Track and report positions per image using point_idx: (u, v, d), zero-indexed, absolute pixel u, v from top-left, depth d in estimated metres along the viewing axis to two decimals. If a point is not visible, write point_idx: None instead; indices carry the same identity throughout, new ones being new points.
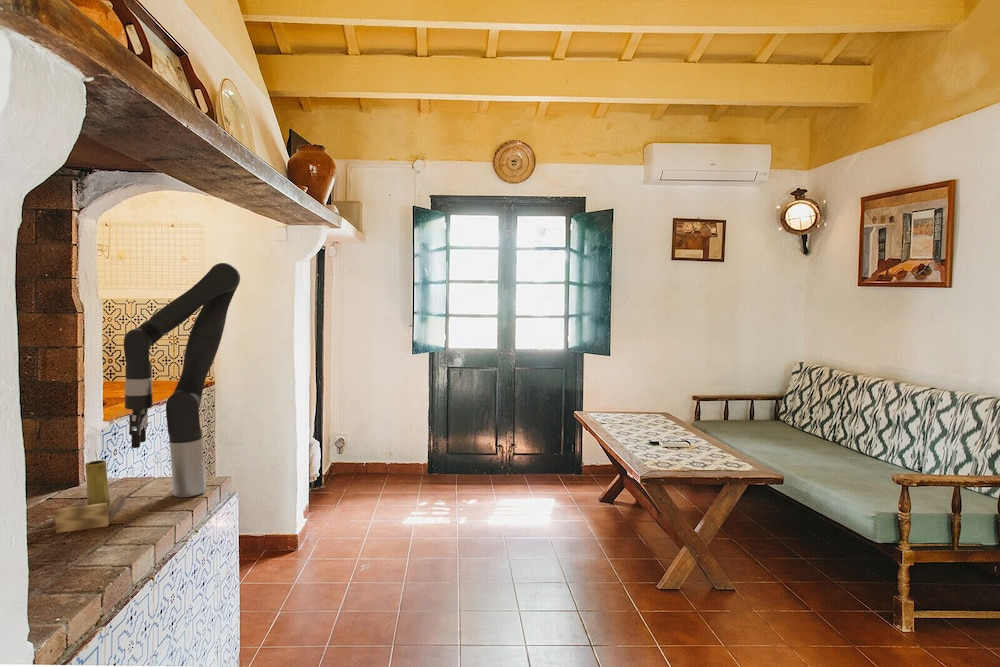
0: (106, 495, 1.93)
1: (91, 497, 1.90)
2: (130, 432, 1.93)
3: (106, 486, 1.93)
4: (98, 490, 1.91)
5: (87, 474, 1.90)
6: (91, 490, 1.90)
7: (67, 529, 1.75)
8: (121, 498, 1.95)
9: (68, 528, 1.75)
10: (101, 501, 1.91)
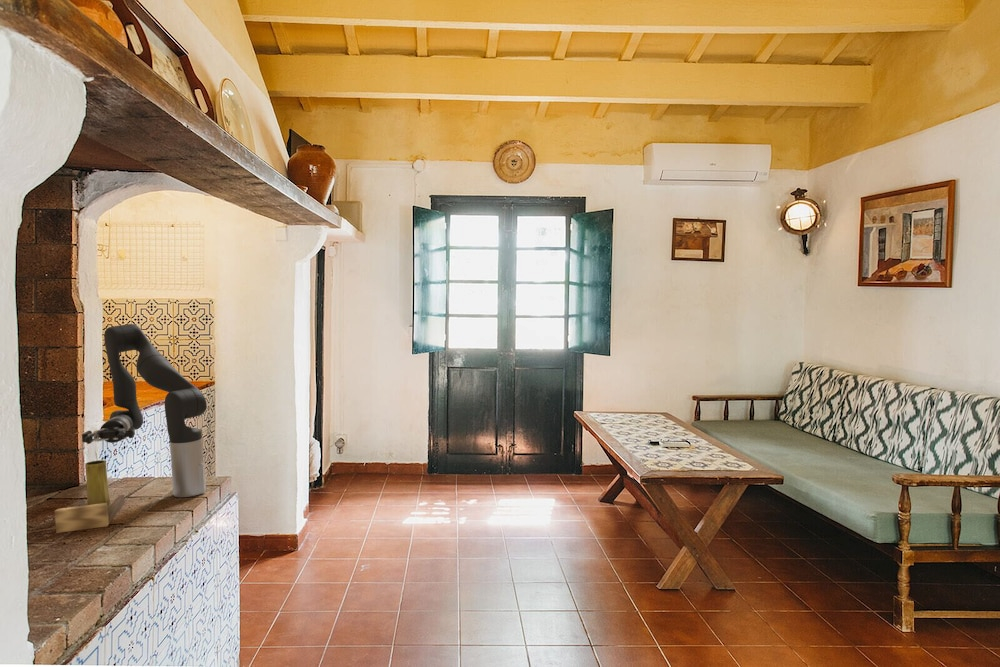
0: (106, 495, 1.93)
1: (91, 497, 1.90)
2: None
3: (106, 486, 1.93)
4: (98, 490, 1.91)
5: (87, 474, 1.90)
6: (91, 490, 1.90)
7: (67, 529, 1.75)
8: (121, 498, 1.95)
9: (68, 528, 1.75)
10: (101, 501, 1.91)
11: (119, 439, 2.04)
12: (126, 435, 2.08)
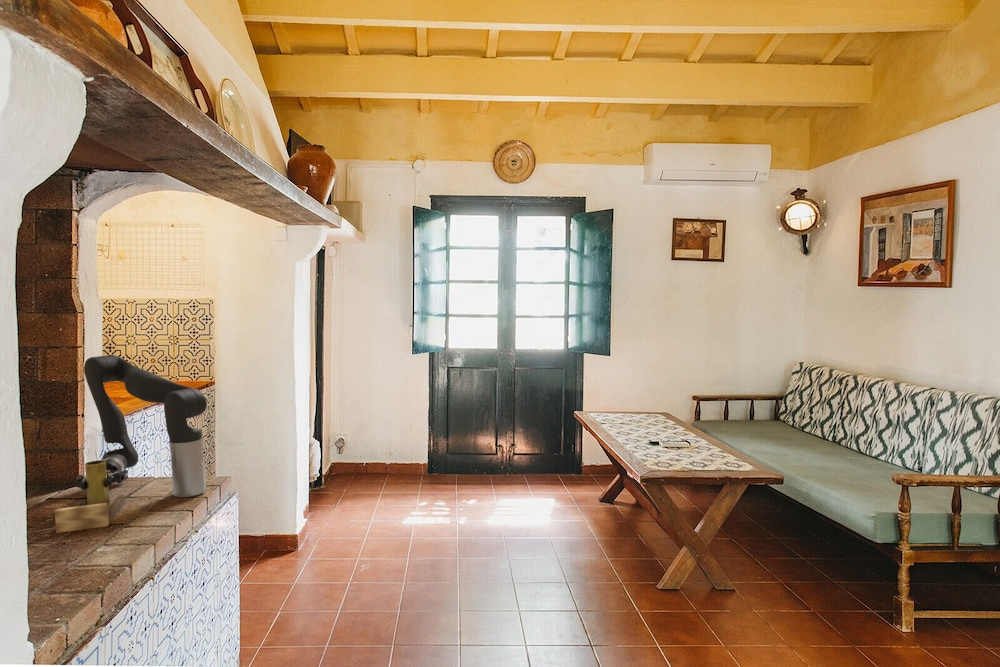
0: (106, 495, 1.93)
1: (91, 497, 1.90)
2: (77, 486, 1.93)
3: None
4: (98, 490, 1.91)
5: (87, 474, 1.90)
6: (91, 490, 1.90)
7: (67, 529, 1.75)
8: (121, 498, 1.95)
9: (68, 528, 1.75)
10: (101, 501, 1.91)
11: (106, 485, 1.91)
12: (114, 480, 1.95)
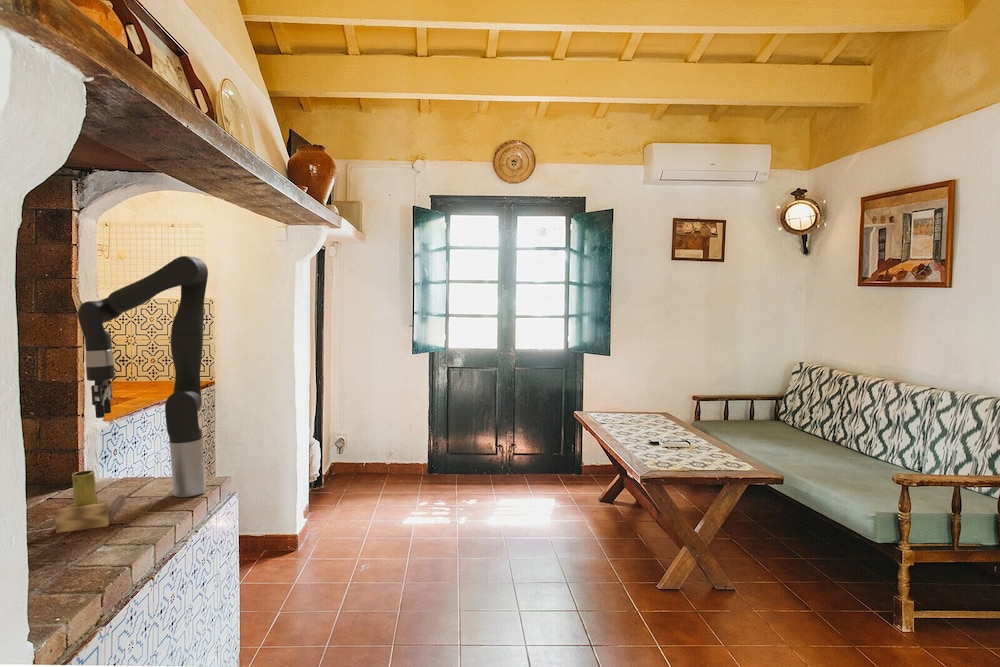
0: None
1: None
2: (93, 402, 1.97)
3: (94, 498, 1.81)
4: (86, 502, 1.79)
5: (74, 485, 1.79)
6: (78, 503, 1.78)
7: (67, 529, 1.75)
8: (121, 498, 1.95)
9: (68, 528, 1.75)
10: None
11: None
12: None
